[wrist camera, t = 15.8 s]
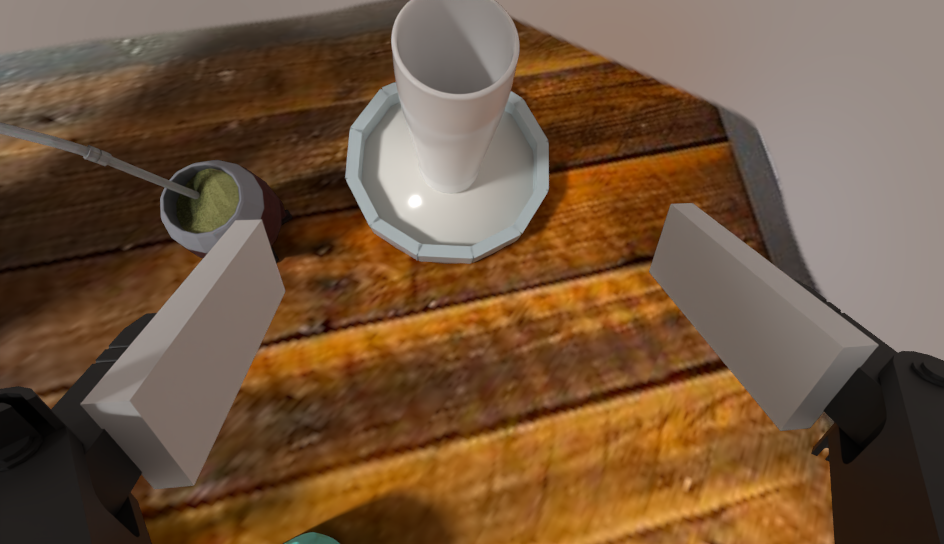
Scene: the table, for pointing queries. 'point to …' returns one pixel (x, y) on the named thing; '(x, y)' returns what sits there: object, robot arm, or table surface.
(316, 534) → the decorative dice
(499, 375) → the table surface
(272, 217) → the mate gourd
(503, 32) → the drinking glass
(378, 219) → the dish
